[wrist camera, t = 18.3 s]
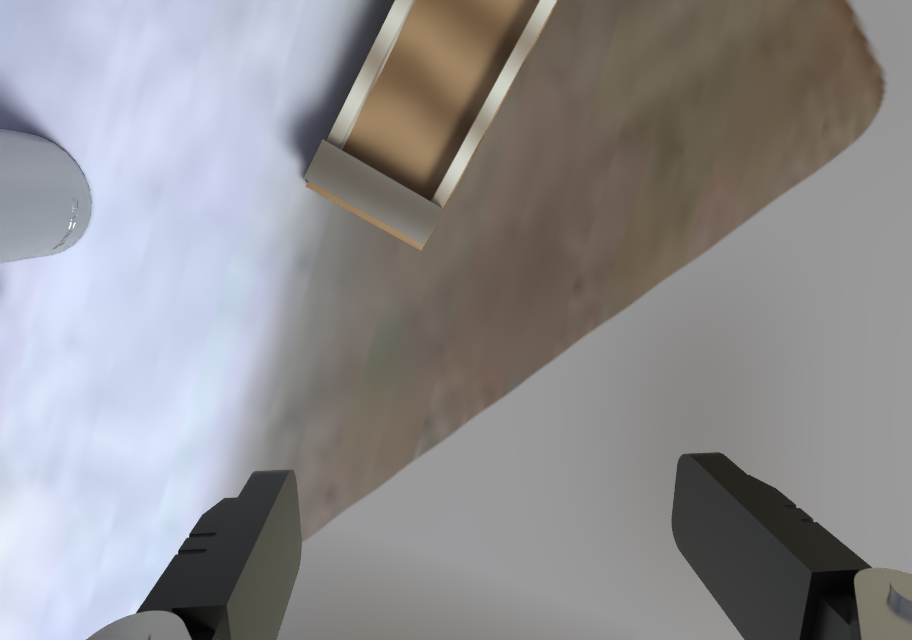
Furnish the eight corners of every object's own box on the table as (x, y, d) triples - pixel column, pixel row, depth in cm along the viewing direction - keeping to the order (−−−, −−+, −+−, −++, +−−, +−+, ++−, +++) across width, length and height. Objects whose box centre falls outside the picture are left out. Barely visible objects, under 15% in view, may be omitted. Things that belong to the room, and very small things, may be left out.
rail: (421, 248, 42) (421, 255, 38) (309, 186, 40) (296, 185, 36) (636, -144, 37) (665, -190, 32) (517, -236, 35) (531, -297, 31)
